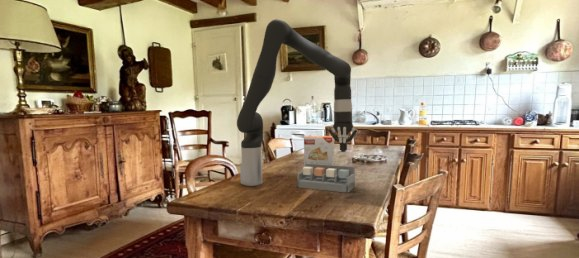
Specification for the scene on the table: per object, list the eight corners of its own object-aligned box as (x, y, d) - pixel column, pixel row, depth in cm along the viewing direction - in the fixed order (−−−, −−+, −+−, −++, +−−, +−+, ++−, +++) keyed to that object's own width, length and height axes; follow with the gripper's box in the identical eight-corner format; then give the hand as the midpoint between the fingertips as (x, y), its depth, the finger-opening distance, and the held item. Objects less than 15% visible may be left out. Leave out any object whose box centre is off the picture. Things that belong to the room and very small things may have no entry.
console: (297, 187, 145) (297, 167, 144) (306, 182, 153) (306, 163, 153) (348, 192, 134) (348, 171, 133) (354, 186, 143) (354, 166, 142)
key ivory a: (302, 174, 146) (302, 167, 146) (306, 173, 149) (305, 166, 149) (310, 175, 144) (310, 168, 144) (313, 173, 147) (313, 167, 147)
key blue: (338, 177, 138) (338, 170, 138) (341, 176, 142) (341, 169, 141) (346, 178, 137) (346, 171, 137) (348, 176, 140) (348, 169, 140)
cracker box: (304, 179, 159) (303, 136, 157) (307, 176, 165) (306, 135, 163) (332, 180, 155) (332, 136, 153) (334, 177, 161) (334, 135, 159)
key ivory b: (326, 176, 141) (326, 169, 141) (329, 175, 144) (328, 168, 144) (333, 177, 139) (333, 170, 139) (336, 175, 142) (336, 168, 142)
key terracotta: (314, 175, 143) (314, 168, 143) (317, 174, 147) (317, 167, 146) (321, 176, 142) (321, 169, 142) (324, 174, 145) (324, 167, 145)
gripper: (324, 111, 137) (325, 152, 138) (356, 110, 131) (356, 153, 132) (330, 110, 143) (331, 149, 145) (360, 110, 137) (361, 151, 139)
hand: (343, 151), depth 138 cm, fingers closed
